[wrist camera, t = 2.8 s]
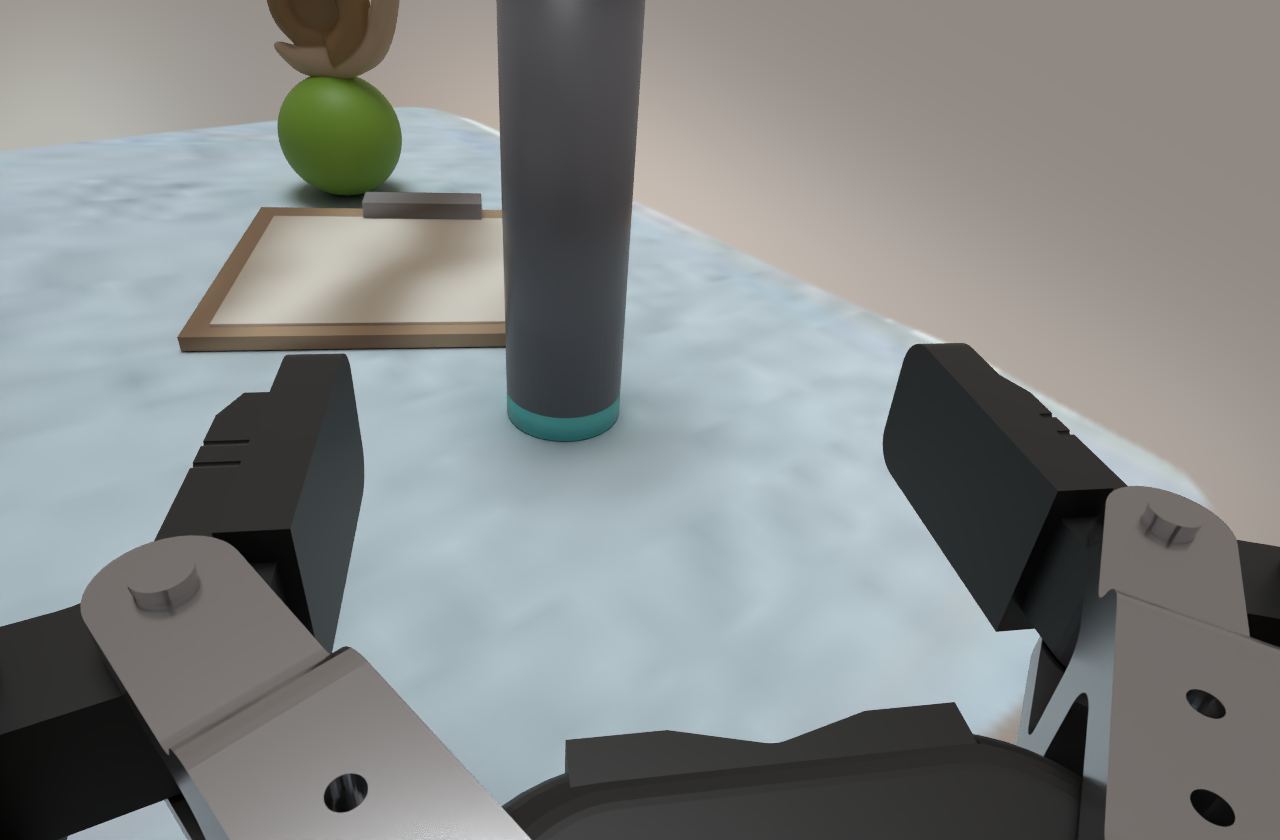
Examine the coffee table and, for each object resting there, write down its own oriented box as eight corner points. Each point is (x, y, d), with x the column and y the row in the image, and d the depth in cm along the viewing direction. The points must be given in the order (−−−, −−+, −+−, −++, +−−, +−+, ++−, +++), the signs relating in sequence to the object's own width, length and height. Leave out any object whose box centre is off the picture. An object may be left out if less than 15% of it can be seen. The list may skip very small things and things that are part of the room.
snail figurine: (405, 219, 37) (376, -91, 31) (267, 205, 37) (209, -105, 31) (440, 182, 42) (421, -94, 35) (317, 170, 42) (275, -107, 35)
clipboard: (181, 350, 26) (171, 314, 26) (263, 218, 36) (257, 189, 35) (611, 344, 29) (613, 311, 28) (579, 221, 38) (580, 194, 38)
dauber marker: (508, 443, 23) (494, -91, 16) (506, 381, 26) (493, -98, 19) (626, 439, 24) (662, -78, 17) (611, 379, 27) (637, -88, 20)
